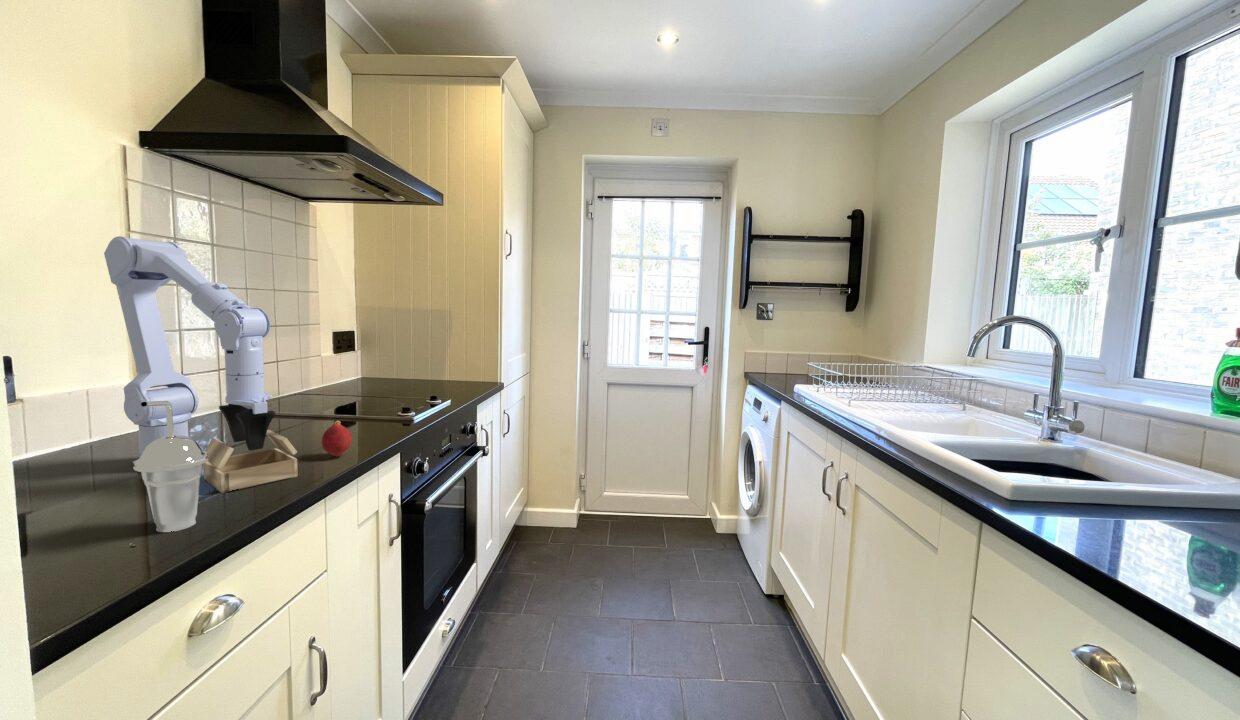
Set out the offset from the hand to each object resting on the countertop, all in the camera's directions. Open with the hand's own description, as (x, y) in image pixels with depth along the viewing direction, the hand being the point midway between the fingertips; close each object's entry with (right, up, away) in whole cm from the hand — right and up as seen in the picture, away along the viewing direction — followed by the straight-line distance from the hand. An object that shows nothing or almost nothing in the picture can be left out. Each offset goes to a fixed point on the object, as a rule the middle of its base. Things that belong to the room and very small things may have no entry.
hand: (248, 445), depth 96 cm
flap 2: (+3, 0, +4) cm, 5 cm away
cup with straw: (+3, -9, -19) cm, 22 cm away
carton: (0, -6, +1) cm, 7 cm away
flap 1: (-3, -1, -3) cm, 4 cm away
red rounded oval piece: (+8, -5, +15) cm, 18 cm away
